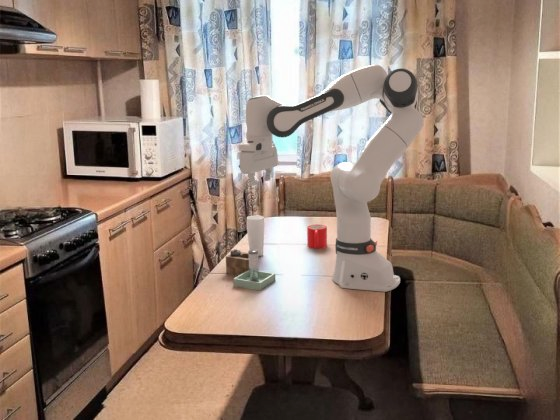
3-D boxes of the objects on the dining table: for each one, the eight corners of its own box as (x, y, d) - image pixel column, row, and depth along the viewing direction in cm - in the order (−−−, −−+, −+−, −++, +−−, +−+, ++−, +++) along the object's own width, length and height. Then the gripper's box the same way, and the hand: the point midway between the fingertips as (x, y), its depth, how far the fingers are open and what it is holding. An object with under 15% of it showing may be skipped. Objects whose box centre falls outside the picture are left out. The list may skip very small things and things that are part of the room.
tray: (275, 280, 196) (275, 273, 195) (260, 290, 187) (259, 283, 187) (249, 276, 201) (249, 269, 200) (233, 285, 192) (233, 278, 191)
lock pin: (260, 280, 194) (259, 250, 192) (256, 283, 192) (254, 253, 189) (252, 279, 196) (251, 249, 194) (247, 282, 193) (246, 252, 191)
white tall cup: (263, 257, 220) (261, 219, 217) (245, 257, 222) (244, 219, 218) (267, 252, 227) (265, 215, 223) (250, 251, 228) (248, 214, 225)
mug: (307, 251, 227) (306, 232, 225) (307, 242, 239) (307, 224, 237) (327, 251, 226) (327, 232, 225) (326, 242, 238) (326, 224, 236)
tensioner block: (258, 270, 206) (257, 249, 205) (248, 276, 200) (247, 254, 199) (237, 266, 211) (236, 246, 209) (226, 272, 205) (225, 251, 203)
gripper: (266, 139, 209) (267, 177, 213) (235, 146, 192) (237, 187, 195) (281, 140, 206) (282, 178, 210) (251, 147, 189) (253, 188, 192)
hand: (260, 182), depth 202 cm, fingers open, 8 cm apart
